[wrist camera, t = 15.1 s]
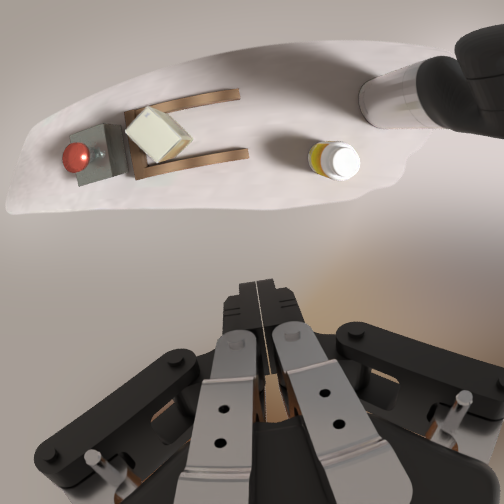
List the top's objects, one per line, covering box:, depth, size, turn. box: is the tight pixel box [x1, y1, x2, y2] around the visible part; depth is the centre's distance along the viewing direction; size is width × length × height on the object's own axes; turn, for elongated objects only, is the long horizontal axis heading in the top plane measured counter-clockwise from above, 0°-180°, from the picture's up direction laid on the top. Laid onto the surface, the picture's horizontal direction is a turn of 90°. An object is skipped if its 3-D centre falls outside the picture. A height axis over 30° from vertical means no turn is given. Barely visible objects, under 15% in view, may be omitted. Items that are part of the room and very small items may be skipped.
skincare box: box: [125, 106, 193, 163], centre depth 36 cm, size 6×4×12 cm
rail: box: [124, 88, 249, 180], centre depth 41 cm, size 18×11×3 cm, turn 98°
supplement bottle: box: [308, 141, 360, 181], centre depth 40 cm, size 6×6×10 cm
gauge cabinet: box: [70, 123, 129, 187], centre depth 39 cm, size 6×8×7 cm
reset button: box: [63, 142, 95, 173], centre depth 33 cm, size 4×4×4 cm
